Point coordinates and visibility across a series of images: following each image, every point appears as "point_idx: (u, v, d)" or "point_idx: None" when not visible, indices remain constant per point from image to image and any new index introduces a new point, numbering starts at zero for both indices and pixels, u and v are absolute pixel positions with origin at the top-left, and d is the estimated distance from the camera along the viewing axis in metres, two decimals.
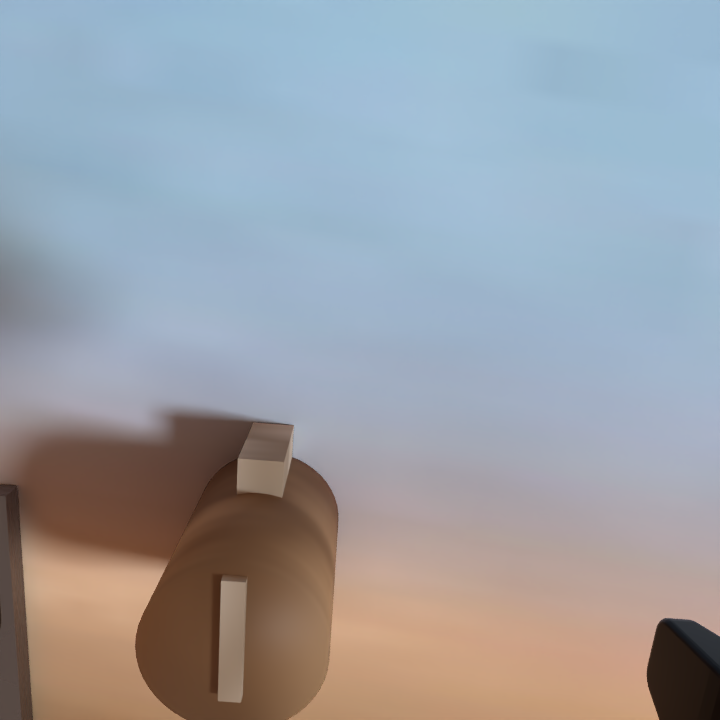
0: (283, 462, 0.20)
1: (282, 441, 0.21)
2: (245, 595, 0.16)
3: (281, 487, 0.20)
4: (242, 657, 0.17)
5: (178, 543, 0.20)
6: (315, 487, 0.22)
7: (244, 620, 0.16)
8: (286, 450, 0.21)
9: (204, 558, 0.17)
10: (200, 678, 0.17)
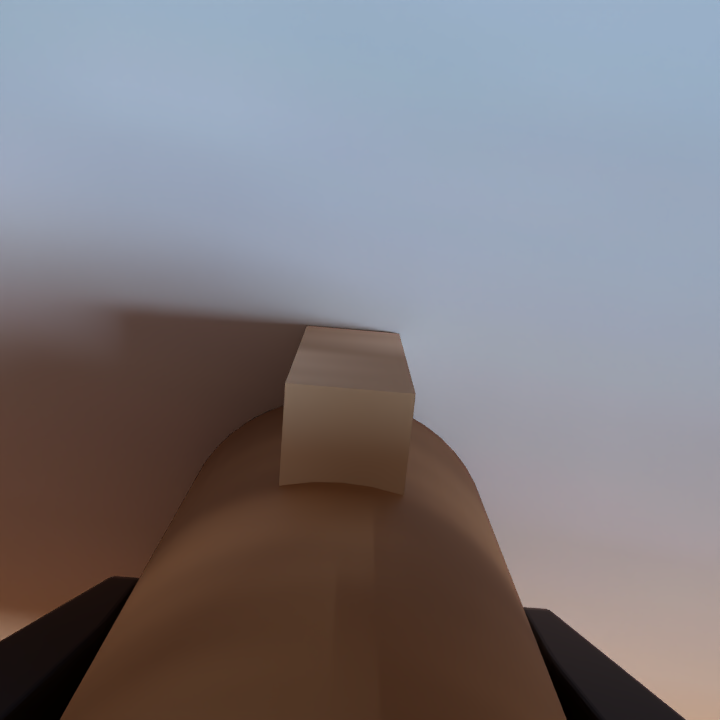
0: (413, 395, 0.07)
1: (390, 357, 0.08)
2: None
3: (403, 467, 0.07)
4: None
5: (112, 626, 0.07)
6: (456, 474, 0.09)
7: None
8: (407, 372, 0.08)
9: None
10: None
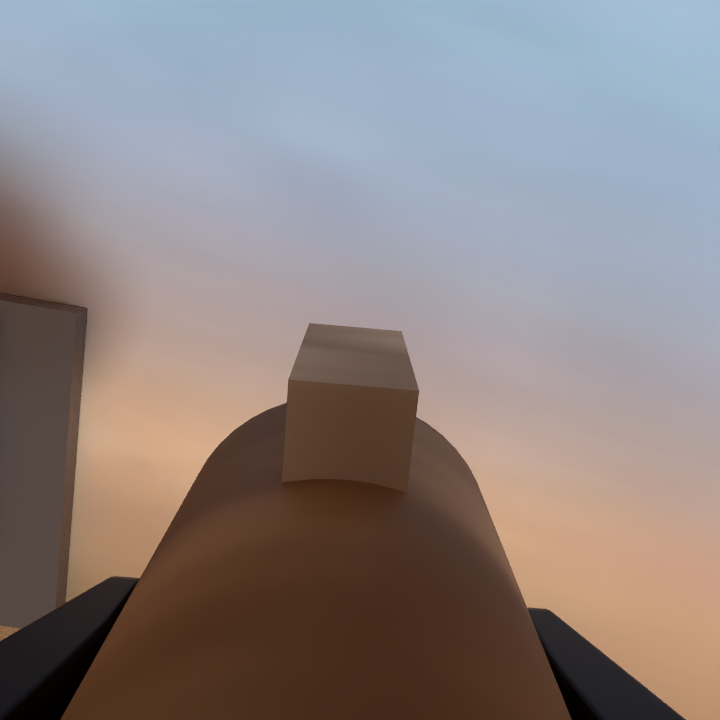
0: (416, 392, 0.07)
1: (392, 354, 0.08)
2: None
3: (406, 464, 0.07)
4: None
5: (115, 622, 0.07)
6: (459, 472, 0.09)
7: None
8: (410, 369, 0.08)
9: None
10: None
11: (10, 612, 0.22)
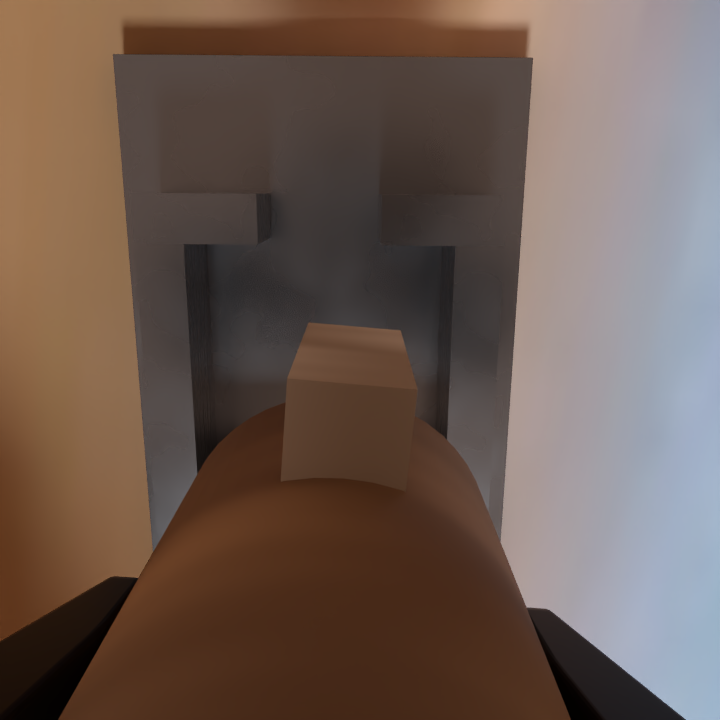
0: (415, 391, 0.07)
1: (391, 353, 0.08)
2: None
3: (405, 462, 0.07)
4: None
5: None
6: (458, 471, 0.09)
7: None
8: (409, 368, 0.08)
9: None
10: None
11: None
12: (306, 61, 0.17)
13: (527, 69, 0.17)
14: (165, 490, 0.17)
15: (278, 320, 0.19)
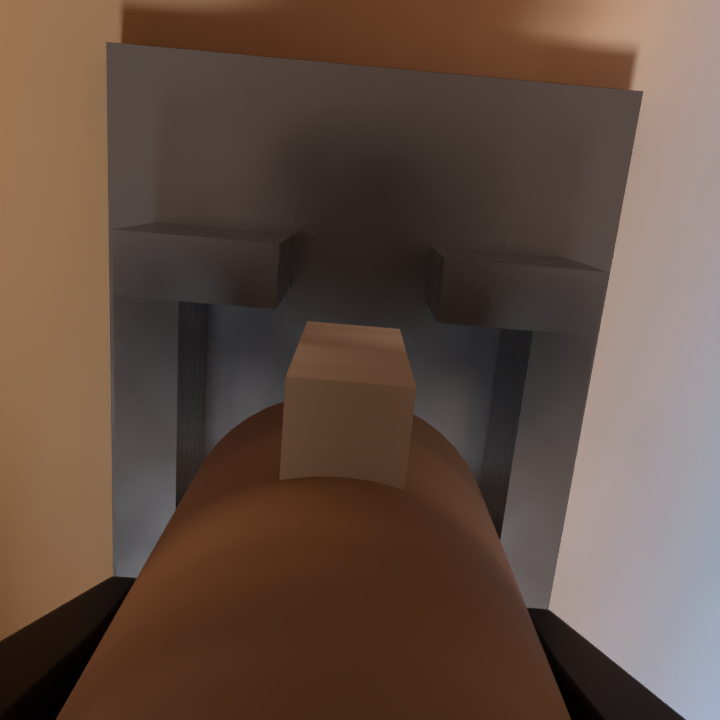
0: (413, 389, 0.07)
1: (391, 352, 0.08)
2: None
3: (404, 461, 0.07)
4: None
5: (112, 620, 0.07)
6: (457, 469, 0.09)
7: None
8: (408, 366, 0.08)
9: None
10: None
11: None
12: (354, 72, 0.13)
13: (634, 105, 0.14)
14: None
15: None
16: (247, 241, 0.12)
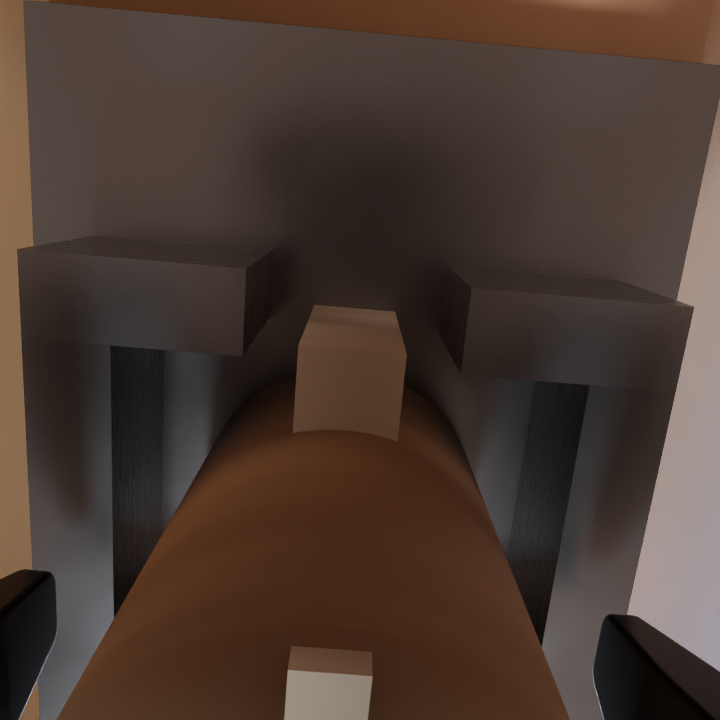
0: (404, 356, 0.08)
1: (386, 328, 0.10)
2: (368, 715, 0.05)
3: (396, 417, 0.09)
4: None
5: None
6: (444, 432, 0.11)
7: None
8: (400, 339, 0.09)
9: (227, 587, 0.05)
10: None
11: None
12: (349, 40, 0.10)
13: (714, 84, 0.10)
14: None
15: None
16: (202, 265, 0.09)
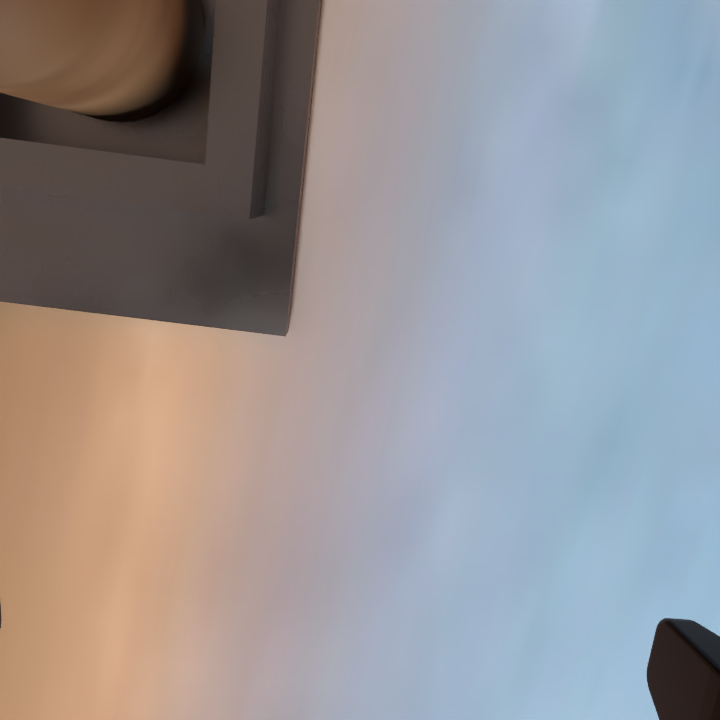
0: None
1: None
2: None
3: None
4: None
5: None
6: None
7: None
8: None
9: None
10: None
11: None
12: None
13: None
14: None
15: None
16: None
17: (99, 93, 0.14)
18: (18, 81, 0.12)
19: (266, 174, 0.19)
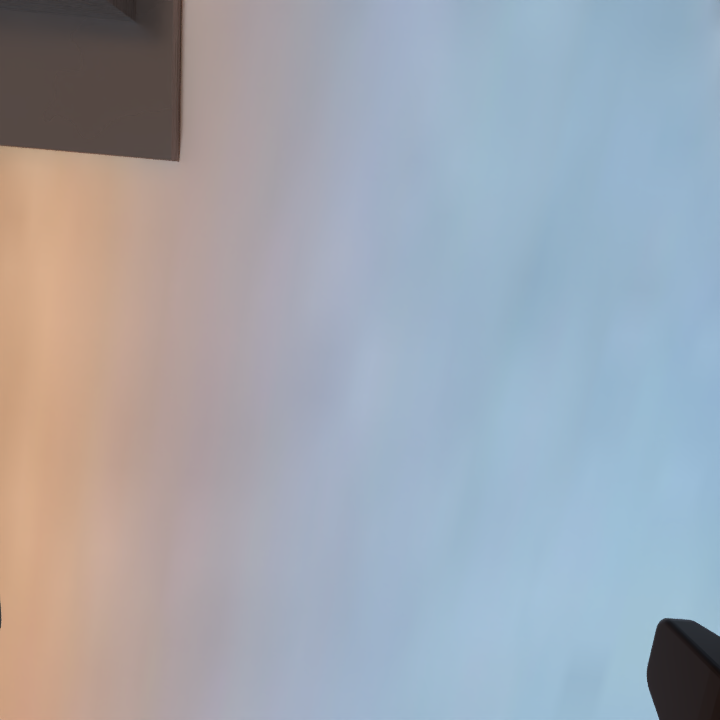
0: None
1: None
2: None
3: None
4: None
5: None
6: None
7: None
8: None
9: None
10: None
11: None
12: None
13: None
14: None
15: None
16: None
17: None
18: None
19: None
